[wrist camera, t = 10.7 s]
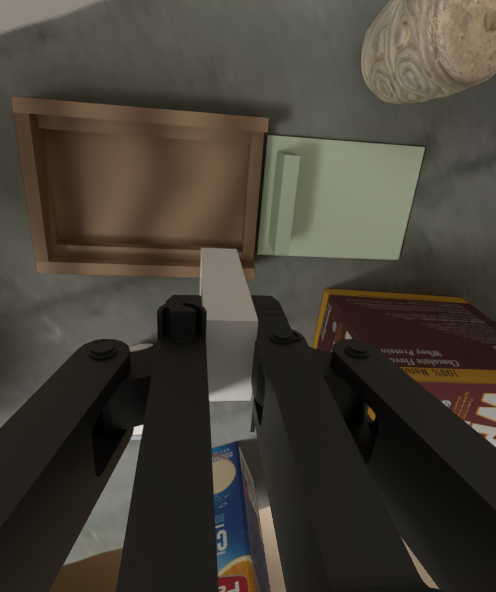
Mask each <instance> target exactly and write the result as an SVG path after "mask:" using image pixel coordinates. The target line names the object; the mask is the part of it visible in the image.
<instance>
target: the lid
mask: <svg viewBox="0 0 496 592" xmlns="http://www.w3.org/2000/svg"><path fill="white" fill-rule="evenodd" d="M424 151H425V147H417V146H404V145H391V144H378V143H365V142H352V141H339V140H326V139H313V138H300V137H287V136H275V135H267V140H266V152H265V163H264V174H263V186H262V197H261V209H260V220H259V231H258V243H257V255H279V256H306V257H333V258H360V259H386V260H398V259H399V255H400V251H401V247H402V243H403V238H404V234H405V230H406V226H407V222H408V218H409V213H410V209H411V205H412V201H413V197H414V192H415V188H416V184H417V180H418V176H419V172H420V167H421V163H422V159H423V155H424Z"/></svg>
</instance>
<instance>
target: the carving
mask: <svg viewBox="0 0 496 592" xmlns="http://www.w3.org/2000/svg"><path fill="white" fill-rule="evenodd" d="M361 69H362V74H363V78H364V81H365V83H366V84H367V86H368V88H369V89H370V90H371V91H372V92H373V93H374V94H375V95H376V96H377V97H379V98H380V99H381V100H382V101H385V102H387V103H390V104H403V103H406V104H413V103H421V102H425V101H428V100H431V99H435V98H443V97H447V96H450V95H453V94H455V93H458V92H461V91H463V90H466V89H468V88H470V87H472V86H475V85H478V84H480V83H483V82H485V81H486V80H488V79H490V78H491V77H492V76H494V75H495V74H496V0H389V2H388V3H387V4H386V5H385V7H384V8H383V9H382V10H381V12H380V13H379V14H378V15H377V17H376V18H375V19H374V21H373V22H372V24H371V25H370V27H369V28H368V30H367V32H366V35H365V38H364V42H363V47H362V52H361Z"/></svg>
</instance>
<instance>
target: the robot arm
mask: <svg viewBox="0 0 496 592" xmlns="http://www.w3.org/2000/svg"><path fill="white" fill-rule="evenodd" d="M157 324H158V339H157V343H156V344H154V345H153V346H151V347H148V348H146V349H142V350H138V351H132V352H130V349H129V347H128V345H127V344H125V343H124V342H122V341H118V340H114V339H101V340H100V339H99V340H95V341H92V342H89V343H87V344H84V345H83V346H82V347H80V348H79V349H78V350H77V351H76V352H75V353H74V354H73V355H72V356H71V357H70V358H69V359H68V360H67V361H66V362H65V363H64V364H63V365H62V366H61V367H60V368H59V369H58V370H57V371H56V372H55V373H54V374H53V375H52V376H51V377H50V378H49V379H48V380H47V381H46V382H45V383H44V384H43V385H42V386H41V387H40V388H39V389H38V390H37V391H36V392H35V393H34V394H33V395H32V396H31V397H30V398H29V399H28V401H27V402H26V403H25V404H24V405H23V406H22V407H21V408H20V409H19V410H18V411H17V412H16V413H15V414H14V415H13V416H12V417H11V418H10V419H9V420H8V421H7V422H6V423H5V424H4V425H3V426H2V427H1V428H0V592H49V590H50V588H51V586H52V584H53V583H54V581H55V579H56V577H57V575H58V573H59V571H60V570H61V568H62V566H63V564H64V562H65V560H66V558H67V556H68V555H69V553H70V551H71V549H72V547H73V545H74V543H75V542H76V540H77V538H78V536H79V534H80V532H81V530H82V528H83V527H84V525H85V523H86V521H87V519H88V517H89V515H90V514H91V512H92V510H93V508H94V506H95V504H96V502H97V500H98V499H99V497H100V495H101V493H102V491H103V489H104V487H105V486H106V484H107V482H108V480H109V478H110V476H111V474H112V473H113V471H114V469H115V467H116V465H117V463H118V461H119V459H120V458H121V456H122V454H123V452H124V450H125V448H126V446H127V445H128V443H129V441H130V439H131V437H132V435H133V431H134V427H136V426H140V425H143V430H142V437H141V443H140V449H139V455H138V461H137V467H136V473H135V479H134V485H133V491H132V497H131V503H130V509H129V516H128V522H127V528H126V534H125V540H124V546H123V553H122V558H121V564H120V570H119V576H118V582H117V588H116V592H219V585H218V566H217V546H216V527H215V507H214V488H213V468H212V449H211V429H210V410H209V401H251V392H252V390H253V394H254V402H253V412H252V422H251V431H250V432H254V430H255V427H256V433H257V438H258V443H259V449H260V454H261V459H262V465H263V470H264V475H265V481H266V486H267V491H268V497H269V502H270V507H271V513H272V518H273V523H274V528H275V534H276V539H277V544H278V550H279V555H280V561H281V566H282V571H283V577H284V582H285V587H286V592H496V447H495V446H494V445H493V444H491V443H490V442H489V441H488V440H487V439H485V438H484V437H483V436H482V435H481V434H479V433H478V432H477V431H476V430H475V429H473V428H472V427H471V426H470V425H469V424H467V423H466V422H465V421H464V420H463V419H461V418H460V417H459V416H458V415H456V414H455V413H454V412H453V411H452V410H450V409H449V408H448V407H447V406H446V405H444V404H443V403H442V402H441V401H440V400H438V399H437V398H436V397H435V396H434V395H432V394H431V393H430V392H429V391H427V390H426V389H425V388H424V387H423V386H421V385H420V384H419V383H418V382H417V381H415V380H414V379H413V378H412V377H411V376H409V375H408V374H407V373H406V372H405V371H403V370H402V369H401V368H400V367H399V366H397V365H396V364H395V363H394V362H392V361H391V360H390V359H389V358H388V357H386V356H385V355H384V354H383V353H382V352H380V351H379V350H378V349H377V348H375V347H374V346H372V345H371V344H369V343H366V342H363V341H362V340H358V339H357V340H356V339H343V340H339V341H337V342H336V343H335V344H333V350H332V352H330V351H325V350H319V349H315V348H311V347H309V346H308V344H307V342H306V340H305V338H304V337H303V336H302V335H301V334H300V333H298V332H297V331H295V330H292V329H291V327H290V325H289V323H288V321H287V318H286V316H285V314H284V312H283V310H282V307H281V305H280V303H279V302H278V301H277V300H276V299H274V298H273V297H272V296H251V295H250V292H249V289H248V285H247V282H246V279H245V276H244V272H243V269H242V266H241V262H240V259H239V256H238V253H237V249H223V248H201V263H200V295H173V296H172V297H171V298H169V299H168V300H167V301H166V304H164V305H162V306H161V307H159V309H158V311H157ZM369 407H370V408H371V409H372V411H373V412H374V413H375V415H376V416H375V419H374V420H372V419H371V418H370V417H369V416H368V414H367V413H368V409H369ZM401 537H402V539H403V540H404V541H405V542H406V544H407V545H408V547H409V548H410V550H411V551H412V552H413V554H414V555H415V556H416V558H417V559H418V560H419V562H420V563H421V564H422V566H423V567H424V569H425V570H426V571H427V573H428V574H429V575H430V577H431V578H432V579H433V581H434V582H435V583H436V585H437V586H438V588H439V589H435V588H429V587H428V586H427V585H426V584H425V583H424V582H423V580H422V579H421V577H420V575H419V574H418V572H417V570H416V567H415V565H414V563H413V561H412V559H411V557H410V555H409V553H408V551H407V549H406V547H405V545H404V543H403V541H402V539H401Z"/></svg>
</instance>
